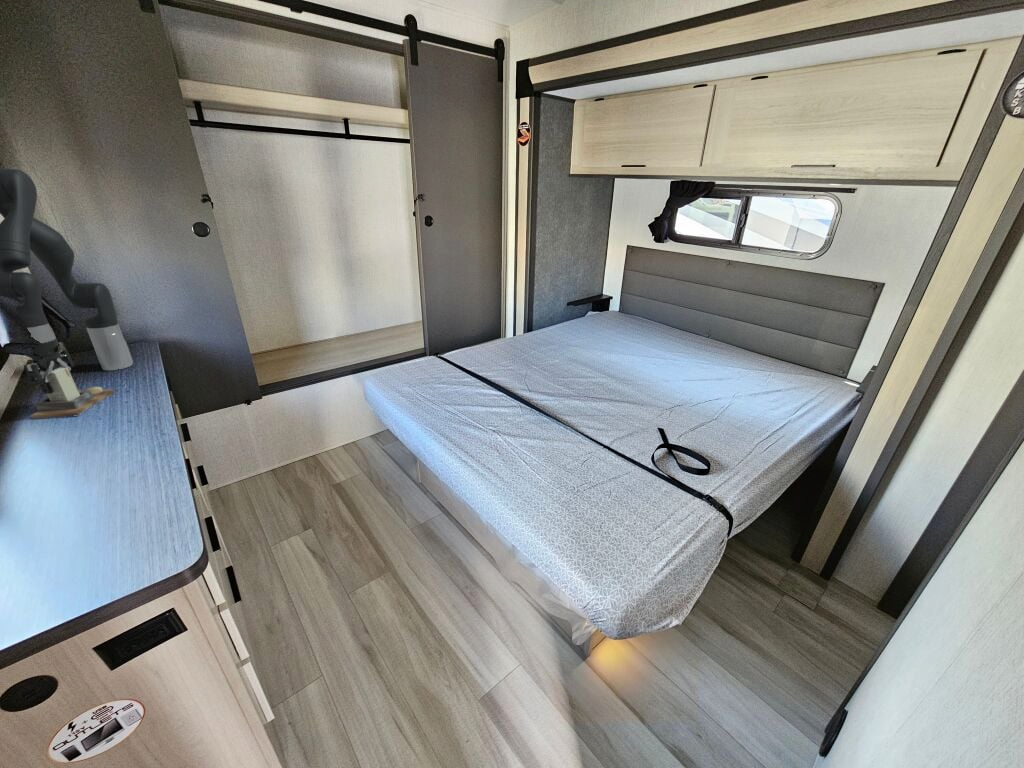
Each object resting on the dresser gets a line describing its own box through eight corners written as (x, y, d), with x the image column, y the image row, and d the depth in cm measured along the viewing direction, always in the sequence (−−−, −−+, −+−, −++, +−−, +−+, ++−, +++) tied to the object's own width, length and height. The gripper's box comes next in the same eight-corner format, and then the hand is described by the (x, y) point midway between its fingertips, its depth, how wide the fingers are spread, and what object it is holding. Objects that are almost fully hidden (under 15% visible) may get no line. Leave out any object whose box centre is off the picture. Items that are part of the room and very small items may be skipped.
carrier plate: (74, 393, 144) (70, 384, 143) (114, 392, 147) (111, 382, 145) (32, 418, 128) (26, 408, 127) (78, 416, 131) (73, 405, 129)
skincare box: (84, 401, 137) (69, 367, 132) (70, 407, 133) (55, 372, 128) (65, 400, 137) (49, 366, 132) (51, 406, 133) (35, 371, 128)
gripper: (41, 332, 132) (62, 379, 138) (2, 347, 119) (27, 397, 126) (69, 332, 133) (88, 378, 140) (34, 346, 121) (57, 396, 127)
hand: (59, 387), depth 133 cm, fingers open, 8 cm apart
